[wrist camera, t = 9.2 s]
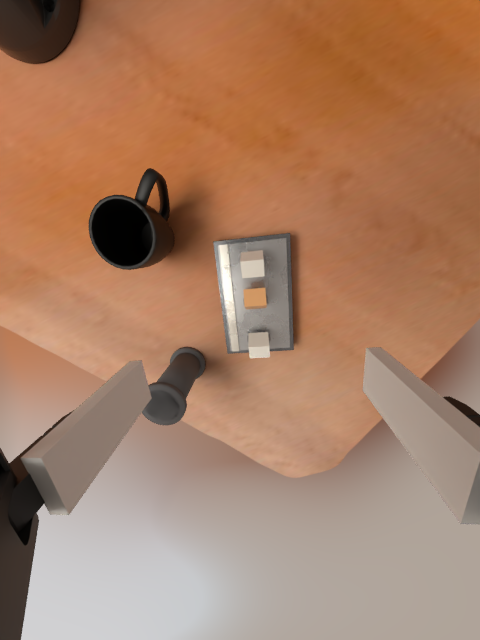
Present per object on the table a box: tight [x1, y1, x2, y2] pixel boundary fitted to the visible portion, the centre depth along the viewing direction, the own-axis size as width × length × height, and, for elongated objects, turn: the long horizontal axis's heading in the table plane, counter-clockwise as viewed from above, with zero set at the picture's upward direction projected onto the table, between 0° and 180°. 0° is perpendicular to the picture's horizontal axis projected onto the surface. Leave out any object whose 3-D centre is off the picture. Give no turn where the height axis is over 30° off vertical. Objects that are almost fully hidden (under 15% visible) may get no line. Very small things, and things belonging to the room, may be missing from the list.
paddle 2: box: [247, 332, 271, 358], centre depth 34 cm, size 2×4×4 cm, turn 95°
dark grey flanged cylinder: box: [142, 347, 205, 425], centre depth 35 cm, size 6×6×12 cm
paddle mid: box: [243, 288, 268, 310], centre depth 32 cm, size 2×4×4 cm, turn 97°
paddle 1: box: [239, 250, 266, 278], centre depth 30 cm, size 2×4×4 cm, turn 95°
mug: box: [89, 168, 174, 270], centre depth 30 cm, size 8×12×10 cm
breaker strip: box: [213, 233, 294, 354], centre depth 35 cm, size 18×11×3 cm, turn 6°
